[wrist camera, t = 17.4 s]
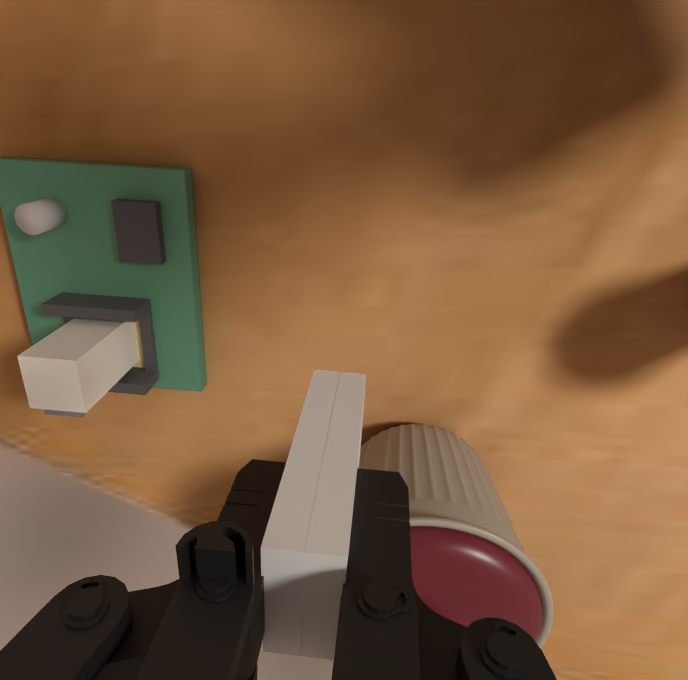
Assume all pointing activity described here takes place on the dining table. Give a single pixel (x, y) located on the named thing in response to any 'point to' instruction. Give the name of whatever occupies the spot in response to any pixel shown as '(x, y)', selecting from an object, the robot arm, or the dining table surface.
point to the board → (110, 258)
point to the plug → (77, 365)
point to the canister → (461, 532)
